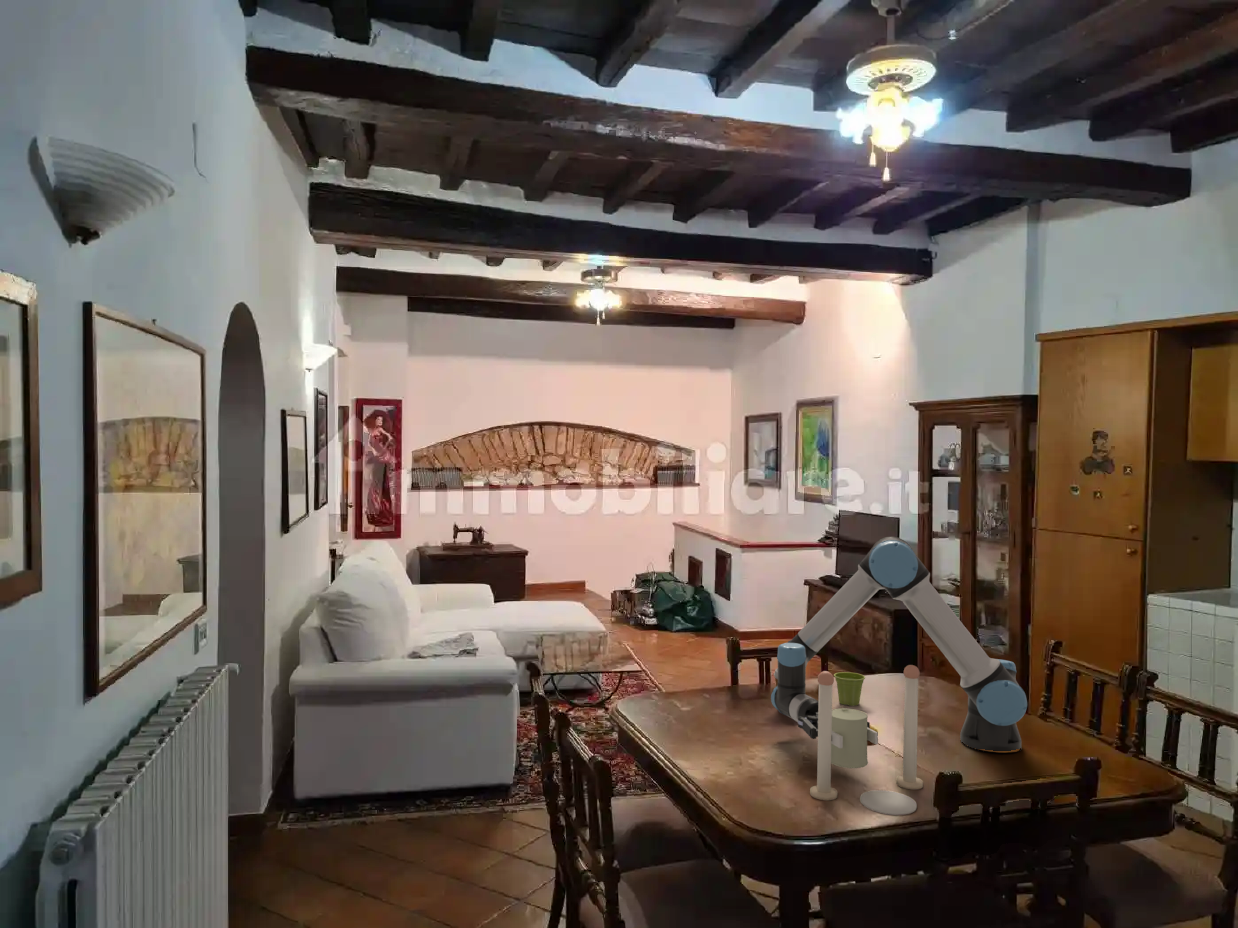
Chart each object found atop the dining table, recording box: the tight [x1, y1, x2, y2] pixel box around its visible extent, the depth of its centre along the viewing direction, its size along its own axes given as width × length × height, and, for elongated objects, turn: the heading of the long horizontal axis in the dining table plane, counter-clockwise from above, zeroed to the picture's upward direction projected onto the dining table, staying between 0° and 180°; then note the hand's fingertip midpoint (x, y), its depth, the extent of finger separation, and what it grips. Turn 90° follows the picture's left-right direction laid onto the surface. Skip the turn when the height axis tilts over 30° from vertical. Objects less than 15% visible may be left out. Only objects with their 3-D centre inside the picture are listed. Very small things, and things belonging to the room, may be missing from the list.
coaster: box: [859, 789, 917, 816], centre depth 189 cm, size 12×12×1 cm
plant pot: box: [833, 671, 866, 707], centre depth 266 cm, size 9×9×9 cm
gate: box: [809, 664, 924, 801], centre depth 197 cm, size 29×6×28 cm, turn 107°
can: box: [831, 707, 869, 769], centre depth 205 cm, size 9×9×12 cm
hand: (858, 740), depth 200 cm, fingers closed on can, 9 cm apart
